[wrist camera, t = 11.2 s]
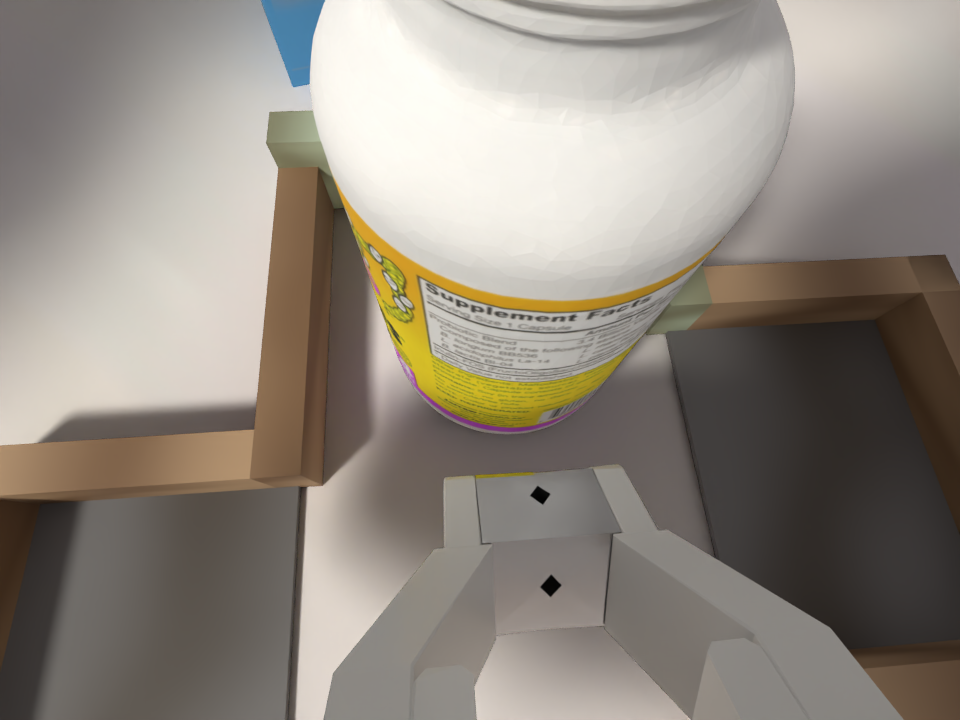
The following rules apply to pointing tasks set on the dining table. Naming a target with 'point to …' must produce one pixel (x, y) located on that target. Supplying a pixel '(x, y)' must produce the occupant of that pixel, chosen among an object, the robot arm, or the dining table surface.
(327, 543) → the dining table surface
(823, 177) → the dining table surface
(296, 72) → the perfume bottle
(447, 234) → the supplement bottle
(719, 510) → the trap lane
